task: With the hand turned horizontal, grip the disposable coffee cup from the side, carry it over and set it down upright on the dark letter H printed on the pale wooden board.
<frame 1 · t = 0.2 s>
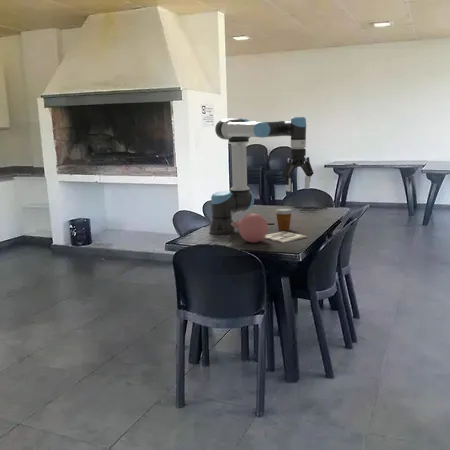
hand: (297, 190, 269), 28 cm above the table, tool pointing down, fingers open, 13 cm apart
balloon: (249, 242, 280), on the table
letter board: (283, 237, 287), on the table
disposable coffee cup: (283, 230, 307), on the table
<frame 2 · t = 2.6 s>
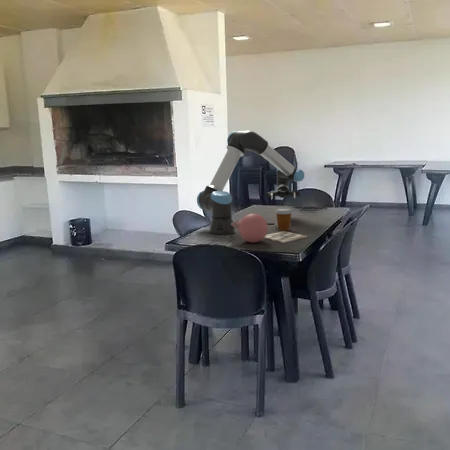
hand: (283, 196, 312), 18 cm above the table, tool horizontal, fingers open, 13 cm apart
nothing on the table moved.
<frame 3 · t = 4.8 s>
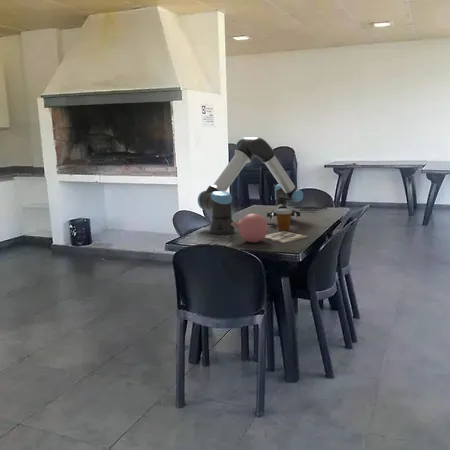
hand: (284, 217, 312), 6 cm above the table, tool horizontal, fingers open, 13 cm apart
nothing on the table moved.
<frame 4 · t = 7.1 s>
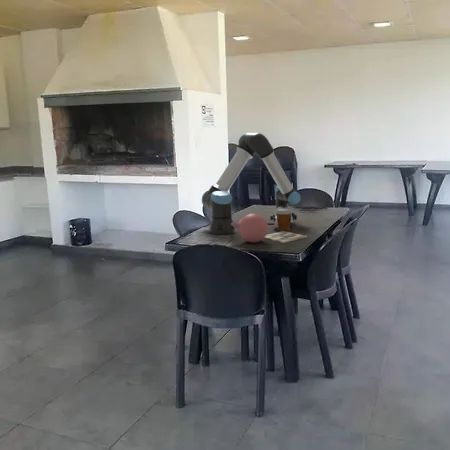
hand: (284, 220, 301), 7 cm above the table, tool horizontal, fingers closed on disposable coffee cup, 8 cm apart
disposable coffee cup: (283, 229, 307), on the table, touching gripper
everything else where it was.
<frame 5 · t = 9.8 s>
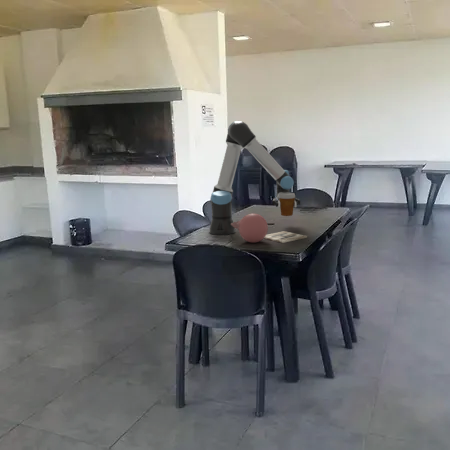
hand: (287, 204, 285), 18 cm above the table, tool horizontal, fingers closed on disposable coffee cup, 8 cm apart
disposable coffee cup: (286, 215, 291), point 11 cm above the table, touching gripper
everything else where it was.
when the fingers open (9 cm above the table, at t = 12.4 s): disposable coffee cup drops 1 cm, resting on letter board.
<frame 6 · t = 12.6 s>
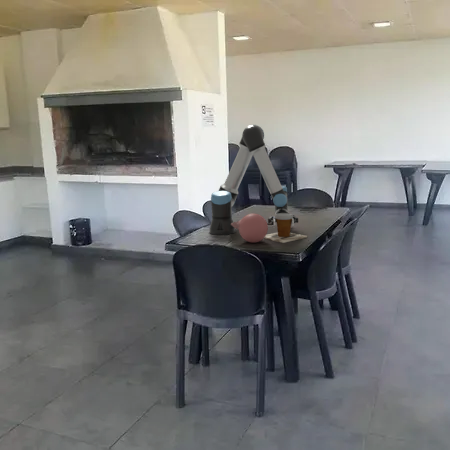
hand: (283, 223, 281), 9 cm above the table, tool horizontal, fingers open, 9 cm apart
disposable coffee cup: (283, 236, 287), point 1 cm above the table, touching gripper, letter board
everything else where it was.
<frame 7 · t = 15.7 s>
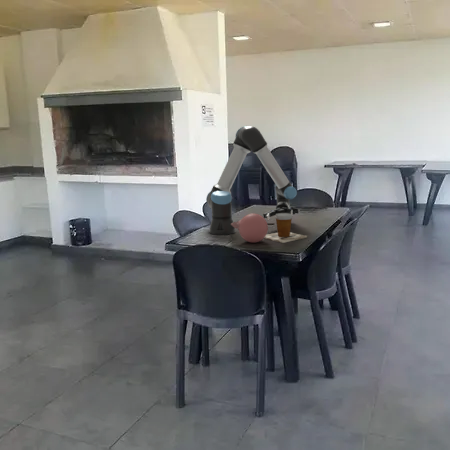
hand: (279, 216, 295), 10 cm above the table, tool horizontal, fingers open, 13 cm apart
disposable coffee cup: (283, 236, 287), point 1 cm above the table, touching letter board
everything else where it was.
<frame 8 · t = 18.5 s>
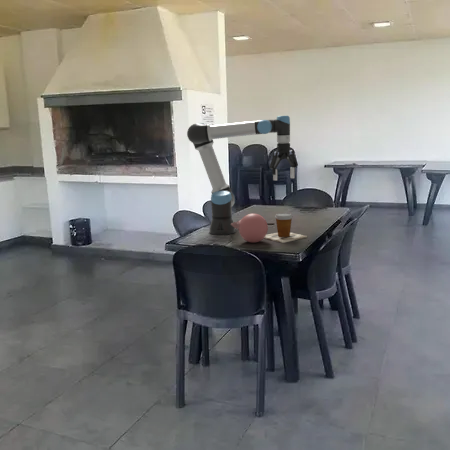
hand: (283, 179, 308), 29 cm above the table, tool pointing down, fingers open, 13 cm apart
nothing on the table moved.
at the end: disposable coffee cup 0.2 cm from the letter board (horizontally); disposable coffee cup tilted 0°; the gripper is holding nothing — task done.
